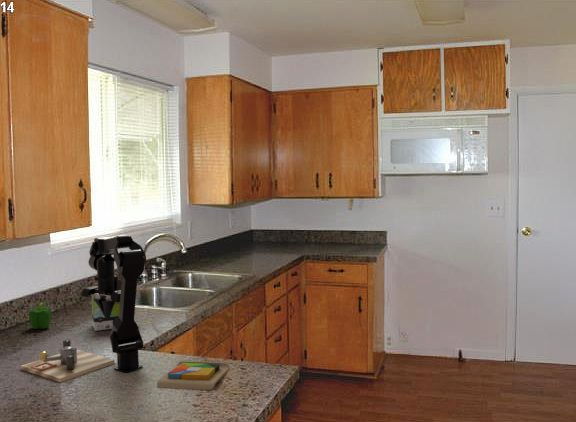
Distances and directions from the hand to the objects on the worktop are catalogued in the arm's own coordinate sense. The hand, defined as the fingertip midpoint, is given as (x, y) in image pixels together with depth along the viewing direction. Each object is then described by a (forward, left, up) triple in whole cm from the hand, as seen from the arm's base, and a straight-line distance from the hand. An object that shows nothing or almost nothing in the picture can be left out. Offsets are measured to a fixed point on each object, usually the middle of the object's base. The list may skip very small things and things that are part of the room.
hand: (107, 318), depth 200 cm
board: (0, +16, -12) cm, 20 cm away
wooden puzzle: (-41, +1, -13) cm, 43 cm away
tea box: (+27, -23, -12) cm, 38 cm away
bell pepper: (+50, -6, -12) cm, 52 cm away
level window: (+3, +22, -11) cm, 25 cm away
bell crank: (+2, +18, -11) cm, 21 cm away
